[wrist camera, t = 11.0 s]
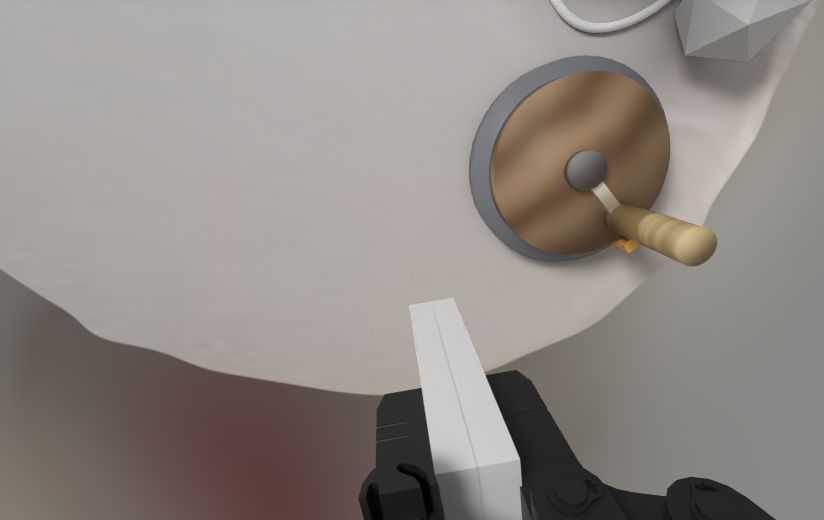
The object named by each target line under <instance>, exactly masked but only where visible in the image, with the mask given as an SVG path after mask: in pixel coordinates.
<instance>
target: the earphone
mask: <svg viewBox="0 0 824 520" xmlns="http://www.w3.org/2000/svg"><path fill="white" fill-rule="evenodd" d="M550 1H551V3H552V5H553V6H554V8H555V10H556V11H557V12H558V14H559V15H560V16H561V17H562V18H563V19H564V20H565V21H566V22H567V23H568V24H570V25H571V26H573V27H575V28H577V29H579V30H582V31H585V32H590V33H606V32H612V31H616V30H619V29H623V28H626V27H628V26H631V25H633V24H635V23H638V22H639V21H641V20H643V19H645V18H647V17H649V16H651V15H652V14H654V13H655V12H657V11H658V10H660V9H661V8H662V7H664V6H665V5H666V4H667V3H669V2H670V1H671V0H658V1H656V2H655V3H653V4H652V5H650V6H649V7H647V8H645V9H644V10H642V11H640V12H638V13H636V14H634V15H632V16H629V17H627V18H624V19H621V20H618V21H614V22H608V23H592V22H588V21H585V20H582V19H580V18H578V17H577V16H575V15H574V14H573V13H572V12H571V11H570V10H569V9H568V8H567V7H566V5H565V4H564V3H563V1H562V0H550Z"/></svg>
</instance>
